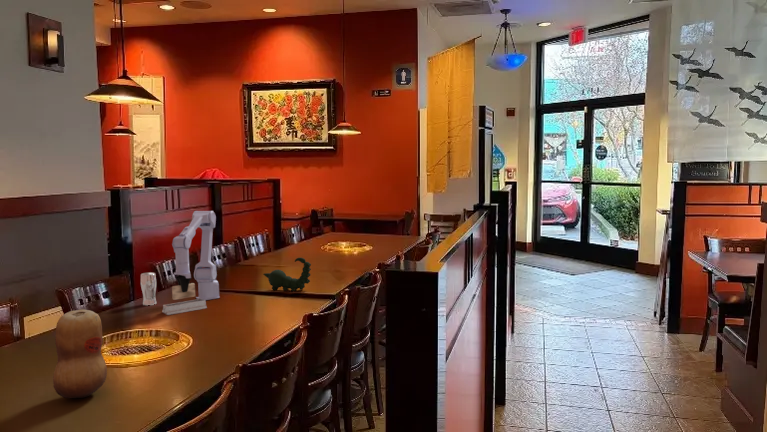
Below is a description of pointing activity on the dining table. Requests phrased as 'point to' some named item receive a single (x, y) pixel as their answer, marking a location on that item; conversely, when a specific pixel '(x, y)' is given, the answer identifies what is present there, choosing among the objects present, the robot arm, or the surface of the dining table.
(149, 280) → the beer glass
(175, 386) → the dining table surface
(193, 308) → the door track
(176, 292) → the door panel
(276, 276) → the toy figurine
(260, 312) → the dining table surface
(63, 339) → the butternut squash
